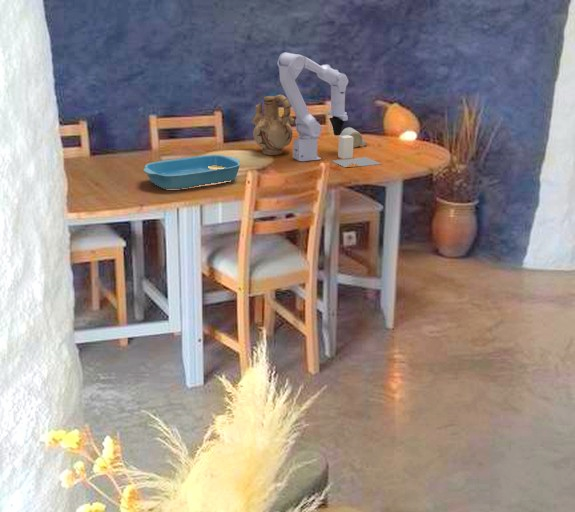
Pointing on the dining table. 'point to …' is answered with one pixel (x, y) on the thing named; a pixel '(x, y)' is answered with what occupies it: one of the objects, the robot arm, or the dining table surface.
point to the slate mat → (356, 162)
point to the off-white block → (345, 147)
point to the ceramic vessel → (273, 125)
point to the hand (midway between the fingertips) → (337, 135)
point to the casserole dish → (192, 171)
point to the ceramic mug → (355, 134)
